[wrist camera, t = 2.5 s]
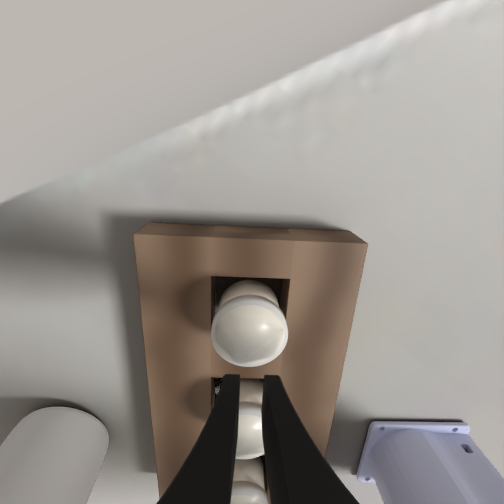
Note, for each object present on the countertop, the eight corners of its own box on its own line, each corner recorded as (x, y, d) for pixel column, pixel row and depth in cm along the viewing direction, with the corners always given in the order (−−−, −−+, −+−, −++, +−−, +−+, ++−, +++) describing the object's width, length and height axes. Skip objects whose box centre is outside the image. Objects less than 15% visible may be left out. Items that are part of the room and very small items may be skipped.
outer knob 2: (267, 448, 23) (270, 493, 20) (263, 482, 24) (266, 528, 21) (215, 448, 23) (210, 492, 20) (215, 482, 24) (210, 529, 21)
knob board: (349, 231, 19) (368, 243, 16) (306, 475, 28) (314, 511, 25) (150, 222, 18) (133, 234, 16) (169, 474, 27) (160, 511, 24)
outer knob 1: (283, 278, 18) (291, 303, 15) (278, 334, 19) (284, 367, 16) (216, 275, 17) (210, 300, 14) (216, 332, 19) (210, 366, 16)
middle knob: (274, 374, 20) (279, 412, 17) (270, 417, 22) (274, 459, 19) (215, 373, 20) (210, 411, 17) (215, 416, 22) (210, 459, 18)
